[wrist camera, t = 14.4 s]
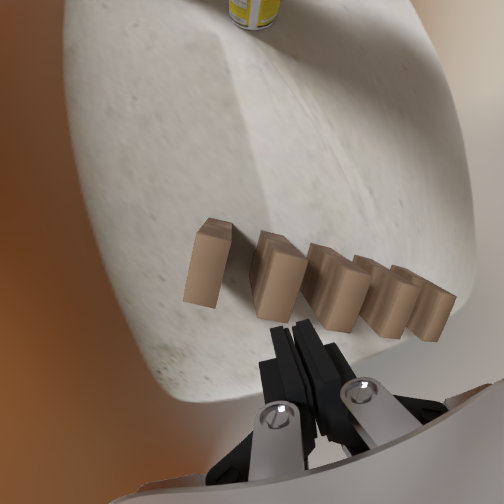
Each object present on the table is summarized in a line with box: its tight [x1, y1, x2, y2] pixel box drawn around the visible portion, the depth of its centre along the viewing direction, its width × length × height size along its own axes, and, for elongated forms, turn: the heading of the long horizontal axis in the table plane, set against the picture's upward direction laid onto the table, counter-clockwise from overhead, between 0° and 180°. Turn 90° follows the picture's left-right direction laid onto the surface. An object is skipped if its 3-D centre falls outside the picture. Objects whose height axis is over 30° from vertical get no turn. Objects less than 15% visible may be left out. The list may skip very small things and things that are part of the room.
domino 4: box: [352, 255, 421, 339], centre depth 26 cm, size 2×5×10 cm, turn 165°
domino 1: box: [183, 218, 232, 309], centre depth 24 cm, size 2×5×10 cm, turn 165°
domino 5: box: [390, 265, 456, 342], centre depth 27 cm, size 2×5×10 cm, turn 165°
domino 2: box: [249, 230, 309, 323], centre depth 25 cm, size 2×5×10 cm, turn 165°
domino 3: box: [300, 243, 373, 333], centre depth 25 cm, size 2×5×10 cm, turn 165°
